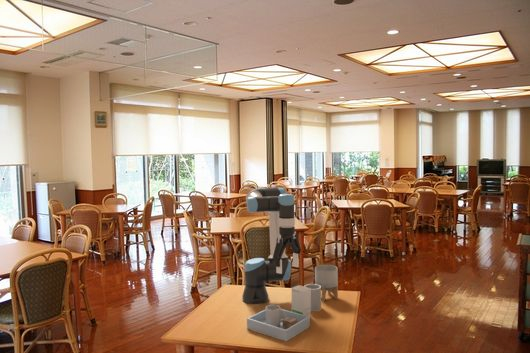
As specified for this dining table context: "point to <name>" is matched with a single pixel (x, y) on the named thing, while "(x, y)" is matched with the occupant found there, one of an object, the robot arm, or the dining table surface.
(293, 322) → the walnut cube
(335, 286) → the planter
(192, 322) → the dining table surface
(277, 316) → the cup
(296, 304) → the skincare box
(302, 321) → the tote
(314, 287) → the cup
